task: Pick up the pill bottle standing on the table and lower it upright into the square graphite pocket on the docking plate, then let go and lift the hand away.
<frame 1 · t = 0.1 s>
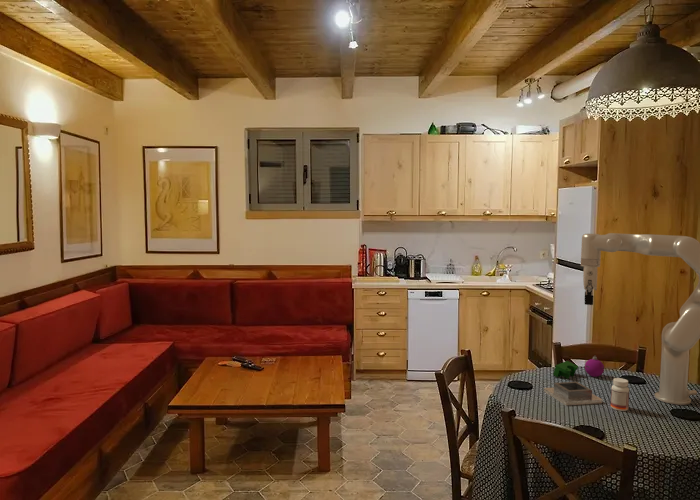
hand: (588, 302, 224), 37 cm above the table, tool pointing down, fingers open, 9 cm apart
pill bottle: (619, 408, 204), on the table
christmas ornament: (593, 376, 243), on the table
docking plate: (572, 397, 216), on the table
green lumpy block: (565, 377, 243), on the table
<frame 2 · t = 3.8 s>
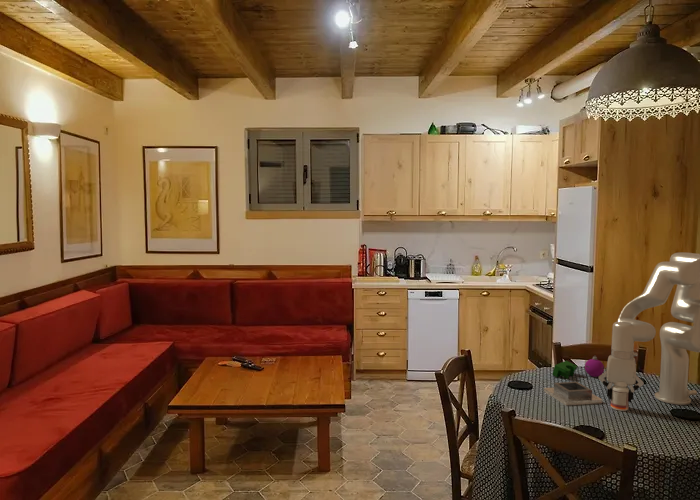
hand: (619, 399, 204), 4 cm above the table, tool pointing down, fingers closed on pill bottle, 6 cm apart
pill bottle: (619, 408, 204), on the table, touching gripper
everything else where it was.
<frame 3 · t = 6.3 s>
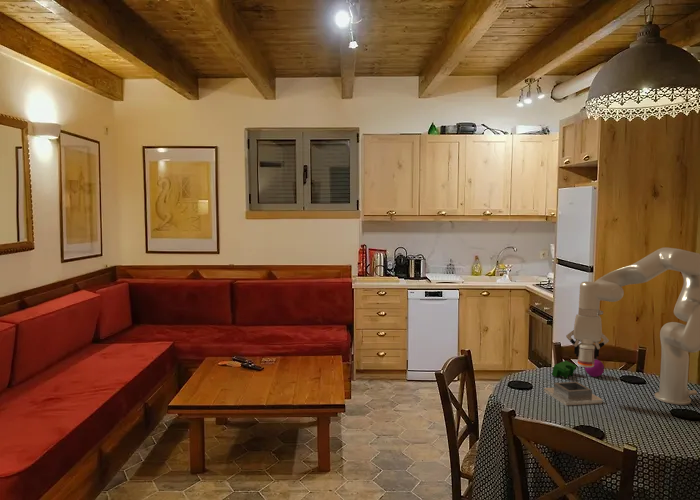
hand: (586, 356, 211), 18 cm above the table, tool pointing down, fingers closed on pill bottle, 6 cm apart
pill bottle: (585, 366, 212), point 14 cm above the table, touching gripper
everything else where it was.
when the fingers open (6 cm above the table, at t = 9.3 s): pill bottle stays where it is, resting on docking plate.
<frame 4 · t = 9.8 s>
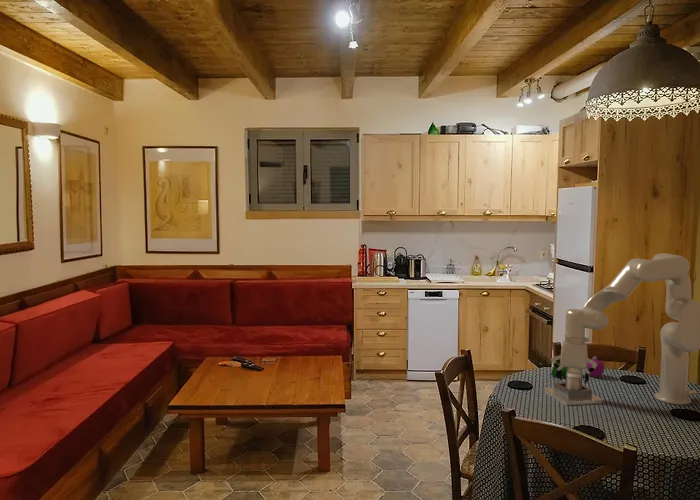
hand: (572, 380, 216), 7 cm above the table, tool pointing down, fingers open, 9 cm apart
pill bottle: (573, 394, 216), point 1 cm above the table, touching docking plate
everything else where it was.
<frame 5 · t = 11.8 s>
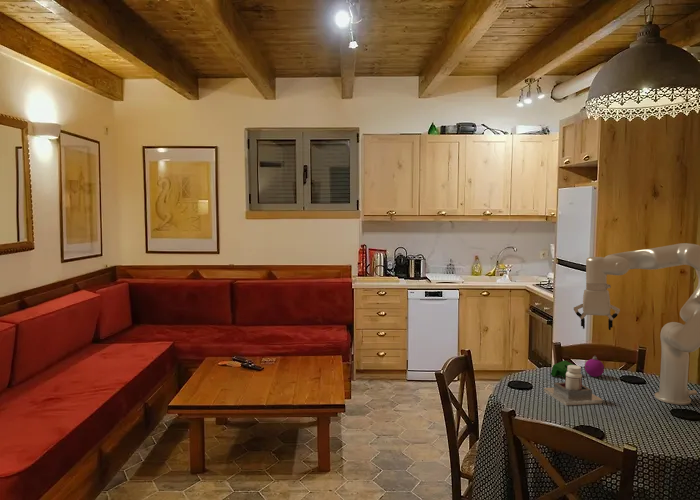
hand: (596, 328, 216), 28 cm above the table, tool pointing down, fingers open, 9 cm apart
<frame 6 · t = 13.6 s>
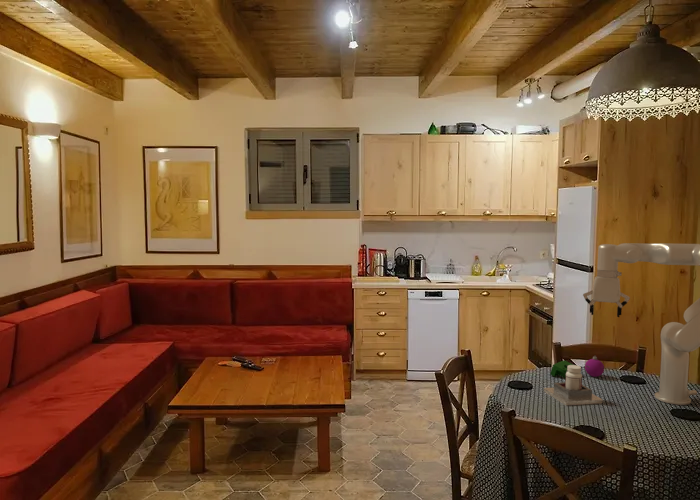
hand: (605, 315, 217), 33 cm above the table, tool pointing down, fingers open, 9 cm apart
at the end: pill bottle 0.2 cm off-centre on the docking plate, point 1.3 cm above the docking plate's base; pill bottle tilted 0°; the gripper is holding nothing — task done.
